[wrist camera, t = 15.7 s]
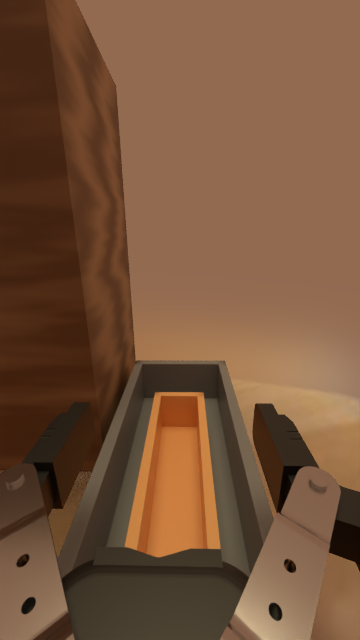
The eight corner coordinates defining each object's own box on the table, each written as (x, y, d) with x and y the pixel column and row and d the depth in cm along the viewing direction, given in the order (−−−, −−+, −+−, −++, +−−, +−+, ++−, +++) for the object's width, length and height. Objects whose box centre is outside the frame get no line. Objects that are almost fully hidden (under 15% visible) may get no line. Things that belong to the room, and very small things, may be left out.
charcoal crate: (339, 919, 7) (381, 870, 6) (-6, 900, 8) (-57, 848, 6) (222, 398, 31) (224, 360, 29) (138, 398, 31) (136, 360, 29)
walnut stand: (106, 471, 21) (33, -88, 11) (-60, 469, 22) (-273, -76, 12) (136, 380, 35) (116, 86, 25) (34, 380, 35) (-29, 89, 25)
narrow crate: (237, 833, 8) (246, 784, 7) (95, 827, 8) (79, 777, 7) (202, 427, 25) (203, 392, 24) (156, 427, 25) (155, 392, 24)
